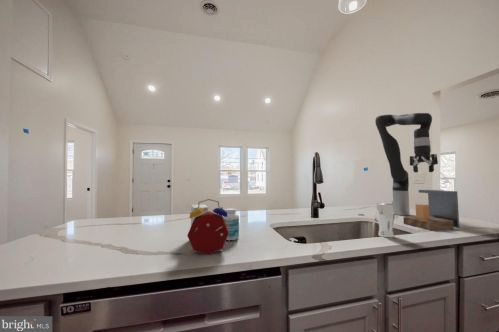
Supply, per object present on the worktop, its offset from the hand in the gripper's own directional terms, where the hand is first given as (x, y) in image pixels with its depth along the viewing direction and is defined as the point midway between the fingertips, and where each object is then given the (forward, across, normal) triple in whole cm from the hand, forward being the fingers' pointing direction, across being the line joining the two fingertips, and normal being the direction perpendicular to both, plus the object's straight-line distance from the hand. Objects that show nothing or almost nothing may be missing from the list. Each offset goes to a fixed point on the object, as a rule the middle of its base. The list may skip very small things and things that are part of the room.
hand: (423, 172), depth 120 cm
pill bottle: (+30, +4, -117) cm, 121 cm away
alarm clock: (+30, +19, -127) cm, 132 cm away
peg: (+30, +6, -10) cm, 32 cm away
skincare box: (+30, +4, -131) cm, 135 cm away
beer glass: (+30, +16, -45) cm, 57 cm away
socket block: (+30, +6, -7) cm, 31 cm away
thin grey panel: (+30, +6, +1) cm, 31 cm away
